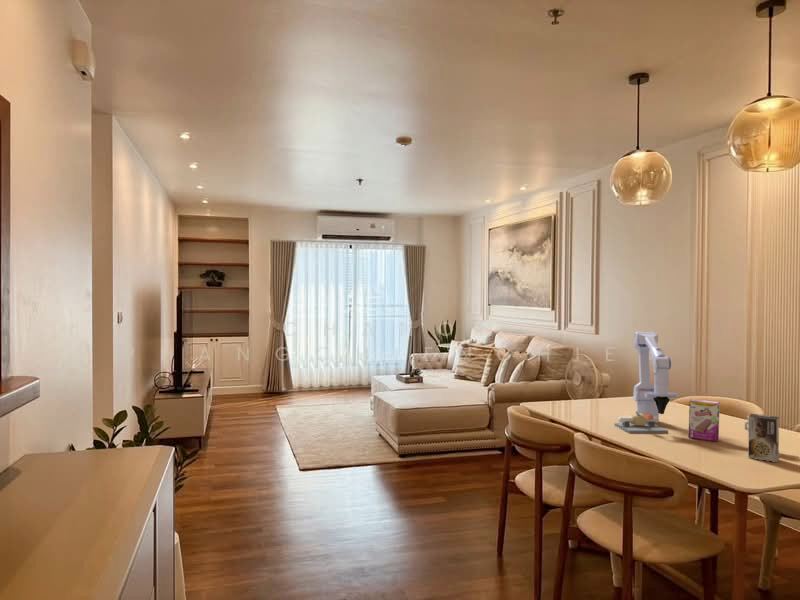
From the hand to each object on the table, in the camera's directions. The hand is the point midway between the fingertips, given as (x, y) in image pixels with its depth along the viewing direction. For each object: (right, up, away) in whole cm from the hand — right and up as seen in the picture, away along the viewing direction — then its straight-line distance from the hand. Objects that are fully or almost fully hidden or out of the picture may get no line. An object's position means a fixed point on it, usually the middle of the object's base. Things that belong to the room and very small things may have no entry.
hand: (661, 413), depth 237 cm
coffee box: (+20, -9, -38) cm, 44 cm away
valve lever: (-6, -2, +3) cm, 7 cm away
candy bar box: (+13, -9, -10) cm, 19 cm away
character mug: (+26, -9, -25) cm, 38 cm away
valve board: (-7, -9, +6) cm, 12 cm away
